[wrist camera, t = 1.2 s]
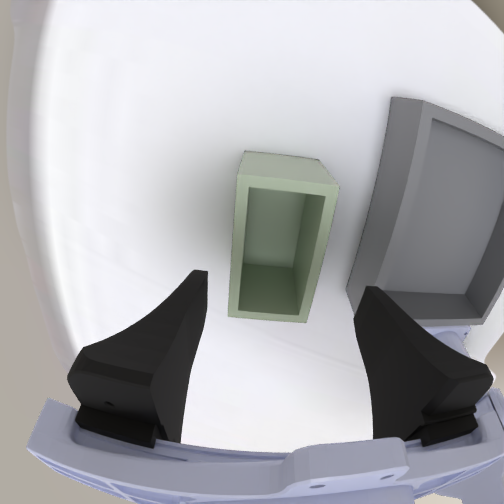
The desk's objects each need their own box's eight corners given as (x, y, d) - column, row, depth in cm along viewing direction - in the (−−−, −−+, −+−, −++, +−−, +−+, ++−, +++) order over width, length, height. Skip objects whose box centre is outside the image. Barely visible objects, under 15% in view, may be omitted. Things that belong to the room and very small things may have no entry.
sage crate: (297, 270, 24) (306, 322, 18) (235, 265, 23) (227, 316, 18) (318, 159, 19) (339, 186, 14) (244, 150, 19) (237, 174, 14)
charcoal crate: (463, 296, 25) (482, 324, 21) (345, 289, 24) (358, 326, 21) (515, 148, 17) (548, 163, 13) (391, 96, 16) (423, 100, 12)
